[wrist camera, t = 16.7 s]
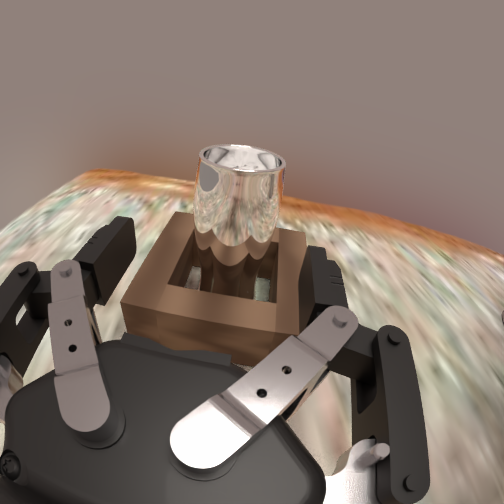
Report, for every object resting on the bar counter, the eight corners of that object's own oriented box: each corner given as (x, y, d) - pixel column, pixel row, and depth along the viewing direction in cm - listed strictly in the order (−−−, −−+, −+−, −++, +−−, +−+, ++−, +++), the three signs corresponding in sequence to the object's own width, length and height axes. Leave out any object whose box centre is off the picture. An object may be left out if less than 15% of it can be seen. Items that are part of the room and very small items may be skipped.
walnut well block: (295, 267, 36) (305, 232, 33) (297, 371, 24) (314, 337, 21) (175, 246, 36) (175, 211, 33) (129, 340, 24) (120, 301, 21)
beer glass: (186, 322, 27) (188, 166, 18) (196, 275, 33) (203, 140, 24) (260, 329, 27) (295, 178, 19) (258, 281, 33) (283, 149, 25)
